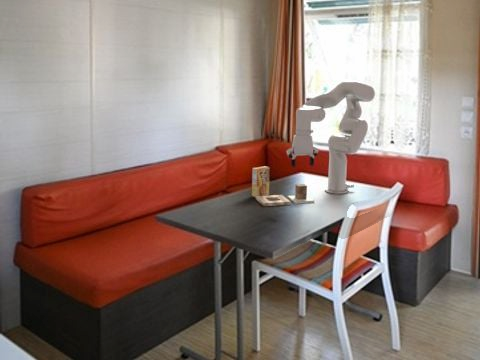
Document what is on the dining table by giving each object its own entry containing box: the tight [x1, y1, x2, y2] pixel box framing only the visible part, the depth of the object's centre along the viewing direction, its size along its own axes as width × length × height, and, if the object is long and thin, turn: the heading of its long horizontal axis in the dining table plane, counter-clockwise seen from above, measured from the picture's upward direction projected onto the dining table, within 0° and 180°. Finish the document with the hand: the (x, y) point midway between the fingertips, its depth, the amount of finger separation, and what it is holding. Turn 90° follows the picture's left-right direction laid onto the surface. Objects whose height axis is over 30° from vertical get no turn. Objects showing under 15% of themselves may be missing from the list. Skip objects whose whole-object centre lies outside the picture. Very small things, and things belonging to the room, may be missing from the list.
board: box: [287, 194, 315, 205], centre depth 280 cm, size 10×12×1 cm
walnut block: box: [294, 183, 308, 200], centre depth 279 cm, size 4×4×7 cm
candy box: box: [251, 165, 271, 198], centre depth 286 cm, size 9×4×15 cm, turn 129°
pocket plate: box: [255, 194, 292, 207], centre depth 276 cm, size 14×14×2 cm
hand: (302, 166), depth 276 cm, fingers open, 9 cm apart
